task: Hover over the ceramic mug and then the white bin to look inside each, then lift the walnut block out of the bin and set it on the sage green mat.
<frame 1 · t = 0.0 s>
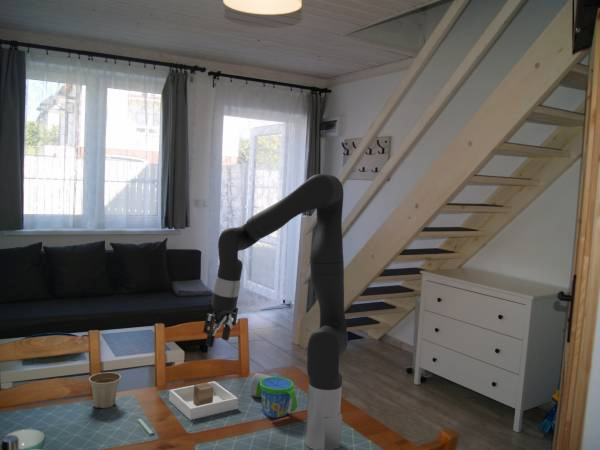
hand: (217, 342, 158), 22 cm above the table, tool pointing down, fingers open, 8 cm apart
white bin: (202, 406, 164), on the table
snack cup: (275, 414, 161), on the table
flower pot: (104, 405, 161), on the table
sage mat: (160, 423, 151), on the table
walnut block: (202, 404, 164), point 1 cm above the table, touching white bin
ceramic mug: (264, 396, 176), on the table
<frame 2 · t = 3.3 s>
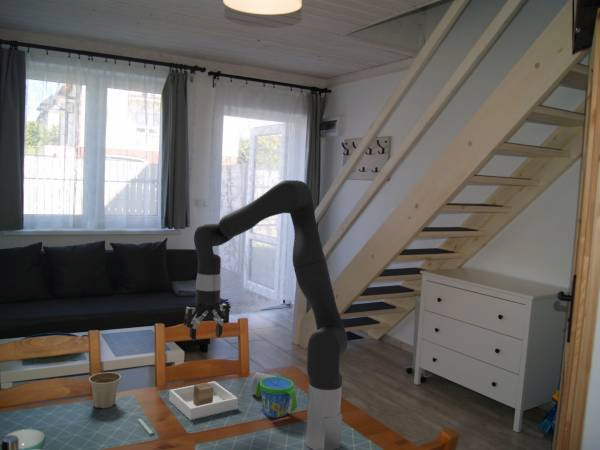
hand: (205, 338, 162), 22 cm above the table, tool pointing down, fingers open, 8 cm apart
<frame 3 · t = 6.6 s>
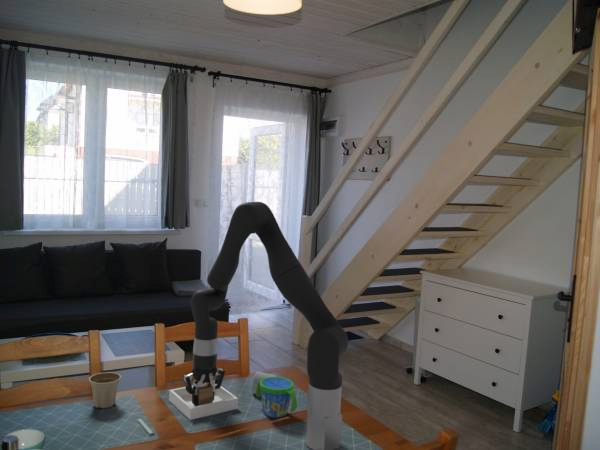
hand: (202, 403, 164), 1 cm above the table, tool pointing down, fingers closed on walnut block, 4 cm apart
walnut block: (202, 404, 164), point 1 cm above the table, touching white bin, gripper
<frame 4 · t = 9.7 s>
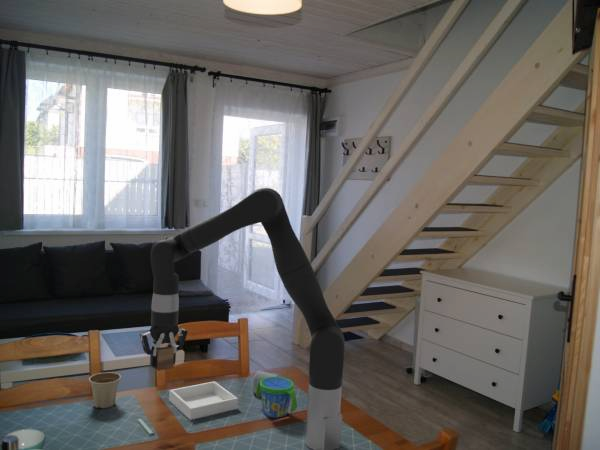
hand: (162, 365, 149), 17 cm above the table, tool pointing down, fingers closed on walnut block, 4 cm apart
walnut block: (162, 367, 149), point 17 cm above the table, touching gripper
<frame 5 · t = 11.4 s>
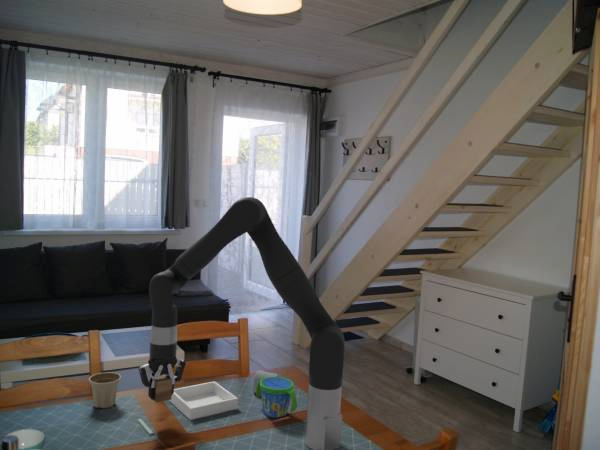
hand: (161, 397, 150), 8 cm above the table, tool pointing down, fingers closed on walnut block, 4 cm apart
walnut block: (160, 398, 150), point 8 cm above the table, touching gripper
when the fingers open (2 cm above the table, at t = 12.9 s): walnut block drops 1 cm, resting on sage mat.
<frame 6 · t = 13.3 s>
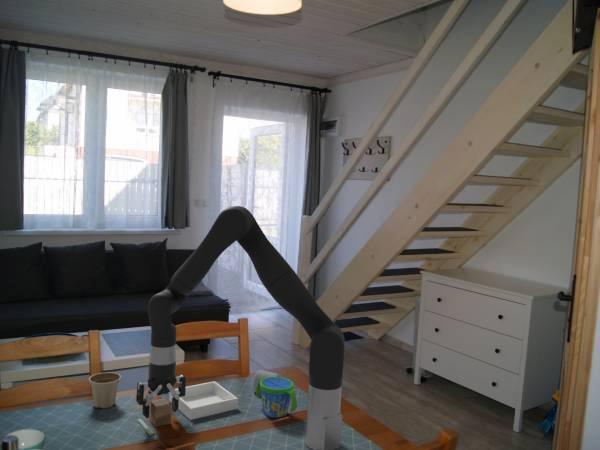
hand: (160, 414, 150), 3 cm above the table, tool pointing down, fingers open, 8 cm apart
walnut block: (160, 422, 150), resting on sage mat
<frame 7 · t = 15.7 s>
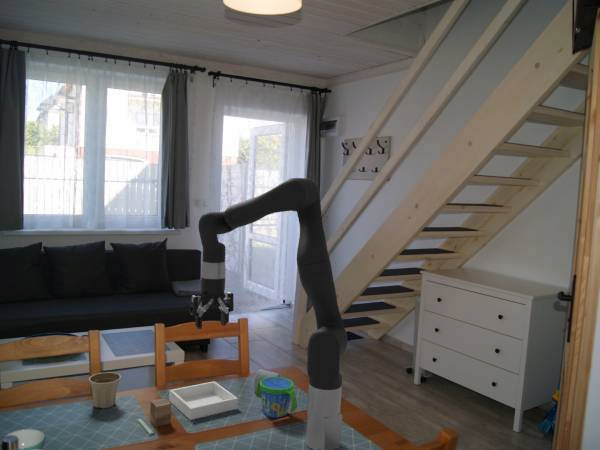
hand: (211, 326, 162), 26 cm above the table, tool pointing down, fingers open, 8 cm apart
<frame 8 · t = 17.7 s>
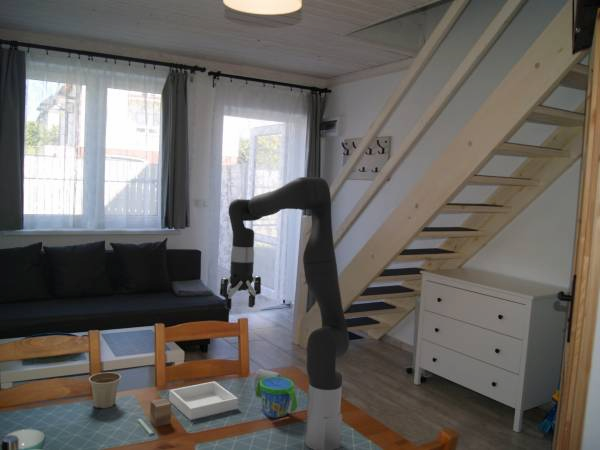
hand: (239, 308, 171), 30 cm above the table, tool pointing down, fingers open, 8 cm apart
at the end: walnut block inside the target area (0.0 cm from its centre), point 0.5 cm above the table; walnut block tilted 0°; the gripper is holding nothing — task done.
